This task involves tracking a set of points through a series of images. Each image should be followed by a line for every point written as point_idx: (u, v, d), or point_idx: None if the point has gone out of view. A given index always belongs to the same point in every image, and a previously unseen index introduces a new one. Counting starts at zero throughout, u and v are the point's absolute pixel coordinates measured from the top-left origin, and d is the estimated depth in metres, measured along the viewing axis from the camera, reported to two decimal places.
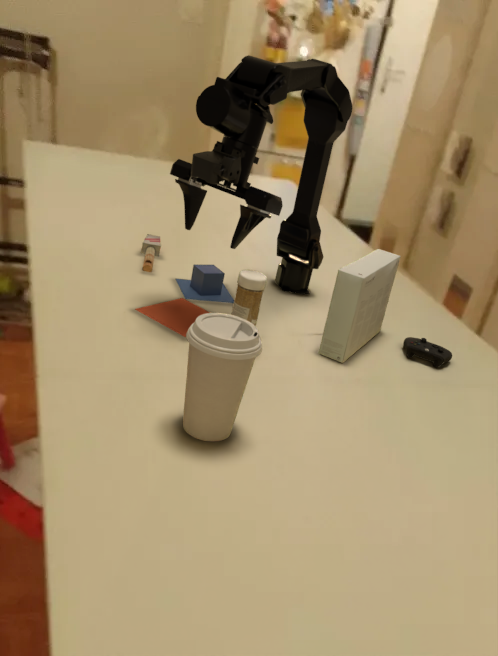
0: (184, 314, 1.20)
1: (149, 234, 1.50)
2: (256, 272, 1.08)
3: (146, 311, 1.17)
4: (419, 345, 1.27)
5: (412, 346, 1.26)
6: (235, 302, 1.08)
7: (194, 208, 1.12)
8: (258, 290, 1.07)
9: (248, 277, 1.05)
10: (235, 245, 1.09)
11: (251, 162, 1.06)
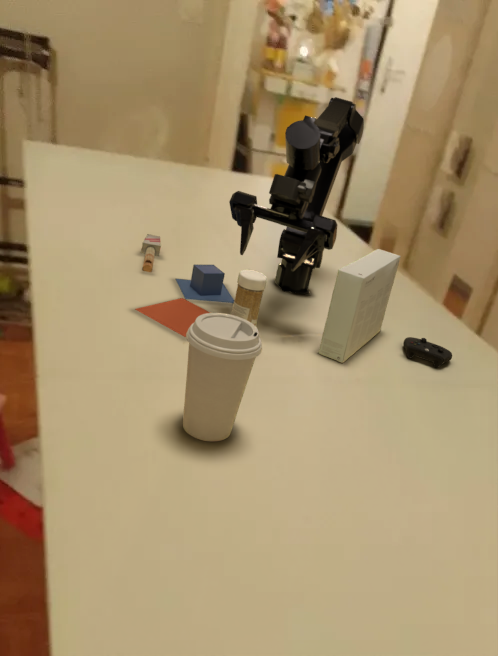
0: (184, 314, 1.20)
1: (149, 234, 1.50)
2: (256, 272, 1.08)
3: (146, 311, 1.17)
4: (419, 345, 1.27)
5: (412, 346, 1.26)
6: (235, 302, 1.08)
7: (248, 236, 1.16)
8: (258, 290, 1.07)
9: (248, 277, 1.05)
10: (295, 267, 1.14)
11: (308, 201, 1.18)
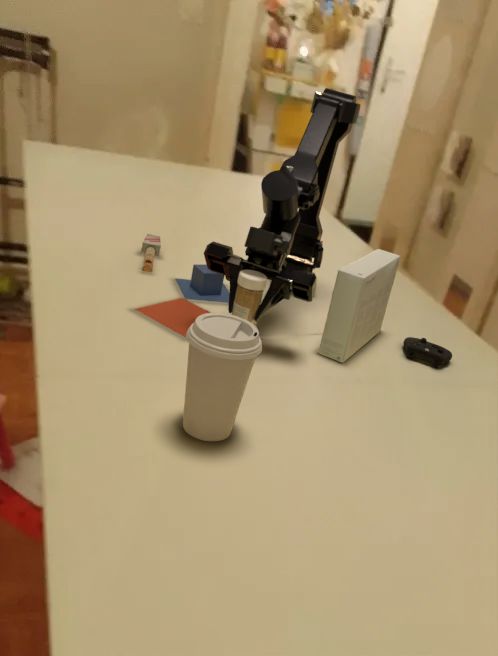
0: (184, 314, 1.20)
1: (149, 234, 1.50)
2: (256, 272, 1.08)
3: (146, 311, 1.17)
4: (419, 345, 1.27)
5: (412, 346, 1.26)
6: (235, 302, 1.08)
7: None
8: (258, 290, 1.07)
9: (248, 277, 1.05)
10: (259, 317, 1.09)
11: None
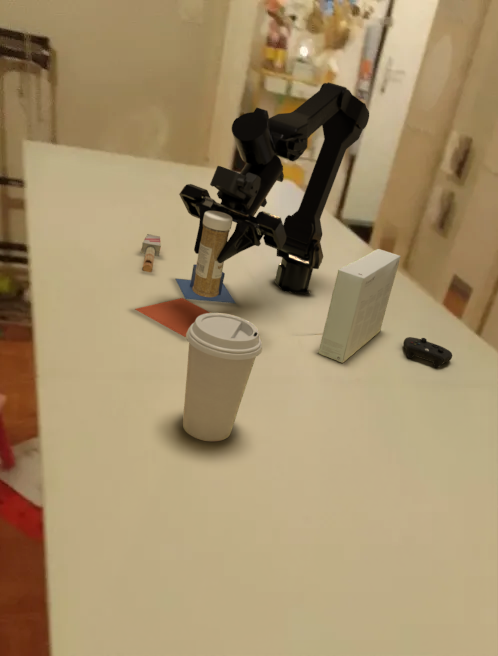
0: (184, 314, 1.20)
1: (149, 234, 1.50)
2: (223, 214, 1.09)
3: (146, 311, 1.17)
4: (419, 345, 1.27)
5: (412, 346, 1.26)
6: (200, 242, 1.09)
7: None
8: (220, 230, 1.07)
9: (210, 216, 1.06)
10: (222, 259, 1.09)
11: (262, 199, 1.12)
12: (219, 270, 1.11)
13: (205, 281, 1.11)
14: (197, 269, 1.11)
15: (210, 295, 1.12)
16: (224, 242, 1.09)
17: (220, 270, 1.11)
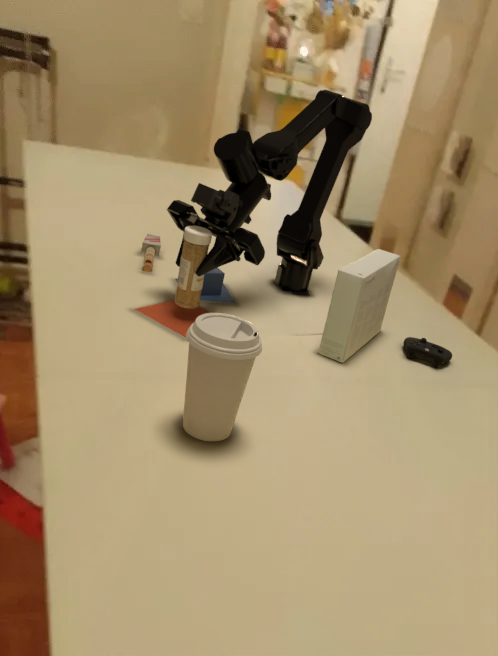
0: (184, 314, 1.20)
1: (149, 234, 1.50)
2: (204, 229, 1.13)
3: (146, 311, 1.17)
4: (419, 345, 1.27)
5: (412, 346, 1.26)
6: (181, 255, 1.14)
7: None
8: (198, 244, 1.11)
9: (189, 230, 1.10)
10: (200, 272, 1.13)
11: (245, 216, 1.16)
12: (198, 283, 1.15)
13: (185, 293, 1.15)
14: (178, 281, 1.15)
15: (190, 306, 1.16)
16: (203, 256, 1.13)
17: (200, 283, 1.15)
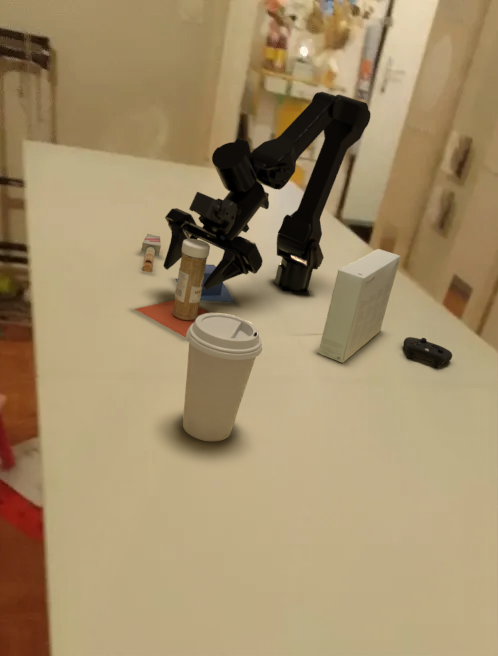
0: None
1: (149, 234, 1.50)
2: (202, 242, 1.14)
3: (146, 311, 1.17)
4: (419, 345, 1.27)
5: (412, 346, 1.26)
6: (179, 268, 1.15)
7: (177, 252, 1.17)
8: (196, 257, 1.12)
9: (187, 243, 1.12)
10: (208, 285, 1.13)
11: (243, 224, 1.16)
12: (196, 295, 1.16)
13: (183, 305, 1.16)
14: (176, 293, 1.16)
15: (187, 318, 1.17)
16: (201, 269, 1.14)
17: (197, 295, 1.16)
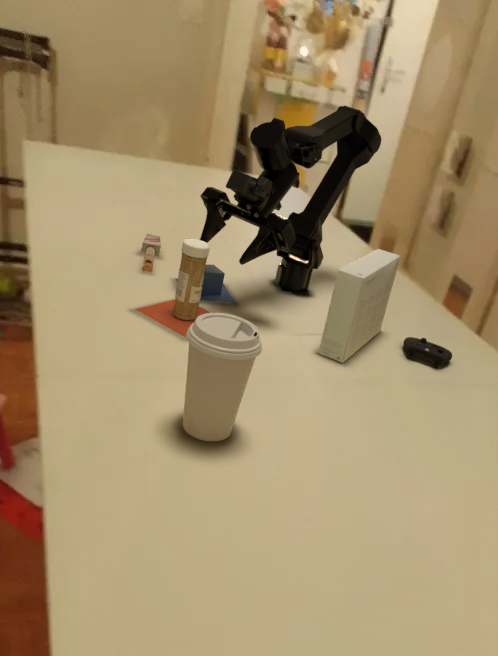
0: None
1: (149, 234, 1.50)
2: (202, 242, 1.14)
3: (146, 311, 1.17)
4: (419, 345, 1.27)
5: (412, 346, 1.26)
6: (179, 268, 1.15)
7: (212, 229, 1.21)
8: (196, 257, 1.12)
9: (187, 243, 1.12)
10: (244, 260, 1.16)
11: (276, 202, 1.20)
12: (196, 295, 1.16)
13: (183, 305, 1.16)
14: (176, 293, 1.16)
15: (187, 318, 1.17)
16: (201, 269, 1.14)
17: (197, 295, 1.16)
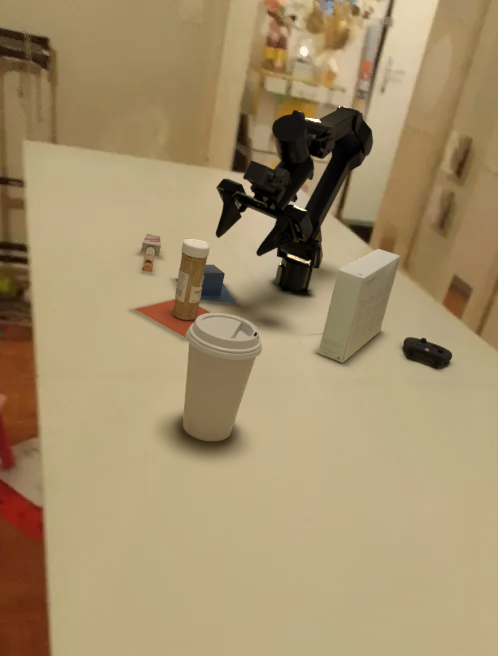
0: None
1: (149, 234, 1.50)
2: (202, 242, 1.14)
3: (146, 311, 1.17)
4: (419, 345, 1.27)
5: (412, 346, 1.26)
6: (179, 268, 1.15)
7: (228, 221, 1.21)
8: (196, 257, 1.12)
9: (187, 243, 1.12)
10: (261, 252, 1.16)
11: (293, 194, 1.20)
12: (196, 295, 1.16)
13: (183, 305, 1.16)
14: (176, 293, 1.16)
15: (187, 318, 1.17)
16: (201, 269, 1.14)
17: (197, 295, 1.16)
